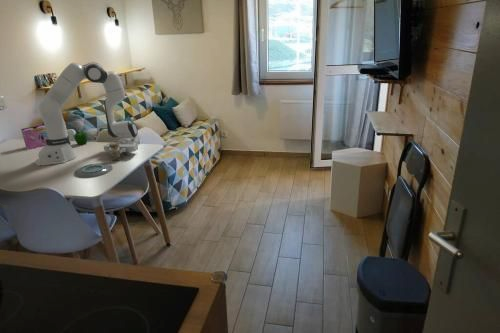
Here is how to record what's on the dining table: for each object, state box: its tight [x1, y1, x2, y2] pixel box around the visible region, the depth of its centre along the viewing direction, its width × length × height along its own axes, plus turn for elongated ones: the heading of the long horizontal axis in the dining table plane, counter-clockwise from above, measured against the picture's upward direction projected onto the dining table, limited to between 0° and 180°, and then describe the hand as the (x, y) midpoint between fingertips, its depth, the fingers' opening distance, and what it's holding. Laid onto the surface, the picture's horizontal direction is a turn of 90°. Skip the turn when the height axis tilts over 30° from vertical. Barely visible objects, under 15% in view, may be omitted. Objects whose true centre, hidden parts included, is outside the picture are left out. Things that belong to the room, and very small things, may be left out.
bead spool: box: [108, 142, 122, 162], centre depth 215 cm, size 6×6×10 cm
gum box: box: [20, 124, 48, 150], centre depth 249 cm, size 24×8×14 cm, turn 135°
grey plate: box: [74, 162, 113, 179], centre depth 200 cm, size 20×20×2 cm
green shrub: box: [73, 129, 88, 146], centre depth 248 cm, size 8×8×10 cm
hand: (114, 151), depth 214 cm, fingers closed on bead spool, 5 cm apart
